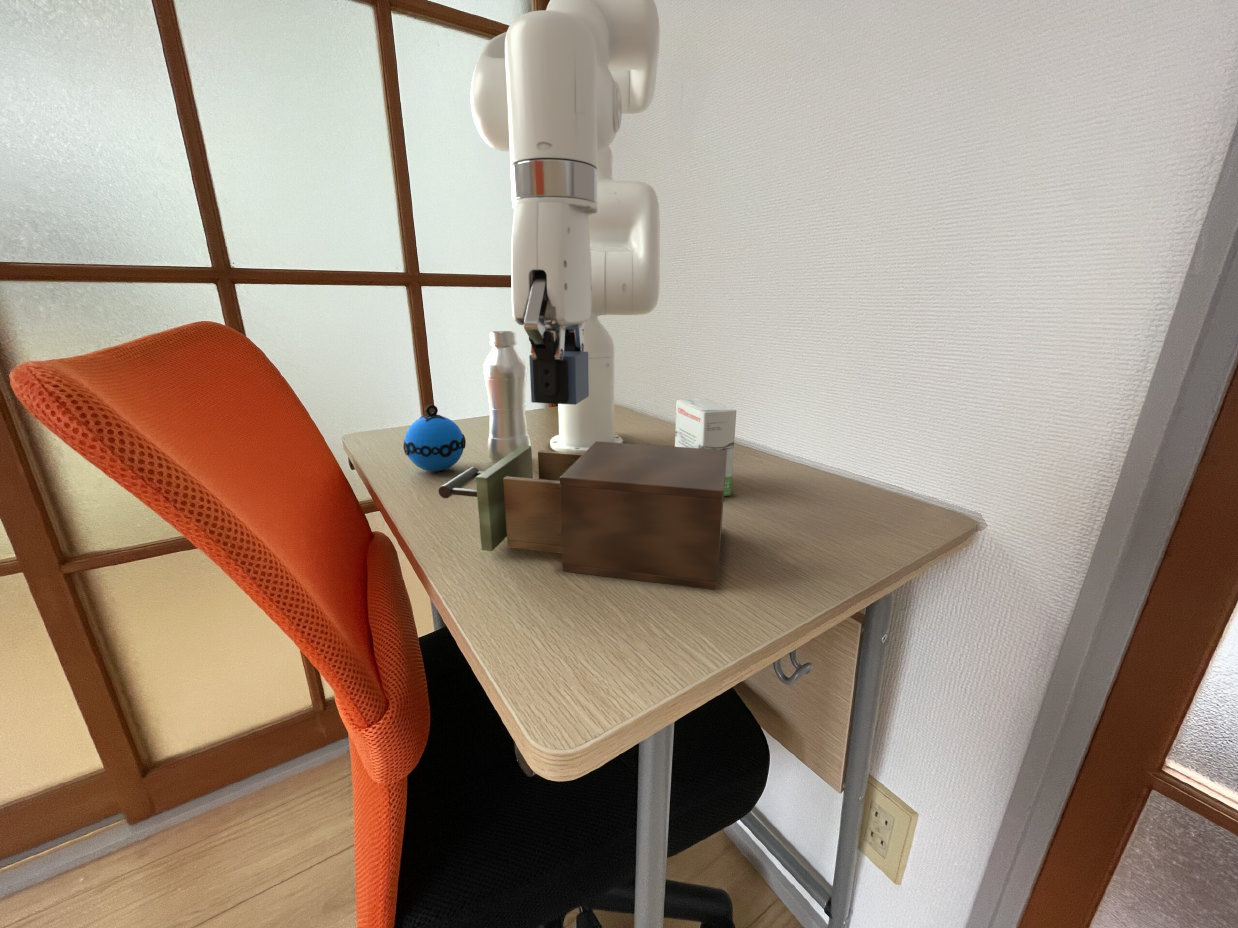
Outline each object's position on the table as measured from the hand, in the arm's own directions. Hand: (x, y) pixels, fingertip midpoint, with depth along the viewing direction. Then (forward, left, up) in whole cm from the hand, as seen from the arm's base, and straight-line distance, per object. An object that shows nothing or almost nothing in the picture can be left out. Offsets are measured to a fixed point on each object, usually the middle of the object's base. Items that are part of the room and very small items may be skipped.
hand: (560, 395), depth 52 cm
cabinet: (0, +9, -16) cm, 18 cm away
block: (0, 0, 0) cm, 0 cm away
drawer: (0, -3, -15) cm, 15 cm away
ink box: (-20, +13, -16) cm, 29 cm away
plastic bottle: (-24, -17, -16) cm, 33 cm away
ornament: (-18, -26, -16) cm, 35 cm away
